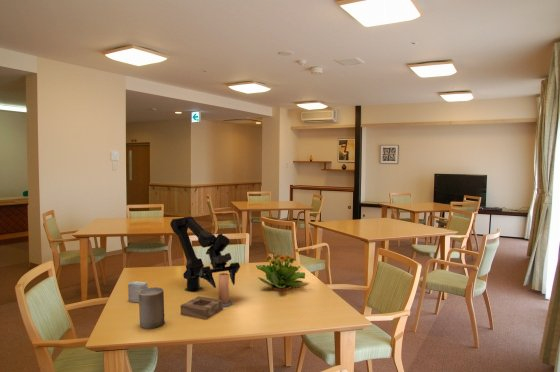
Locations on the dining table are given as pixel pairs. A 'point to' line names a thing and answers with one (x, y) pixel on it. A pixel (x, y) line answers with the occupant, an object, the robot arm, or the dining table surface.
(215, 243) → the robot arm
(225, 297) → the peg
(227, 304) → the coaster
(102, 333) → the dining table surface
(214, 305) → the pocket block
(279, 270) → the potted flower
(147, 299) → the pillar candle
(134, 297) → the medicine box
